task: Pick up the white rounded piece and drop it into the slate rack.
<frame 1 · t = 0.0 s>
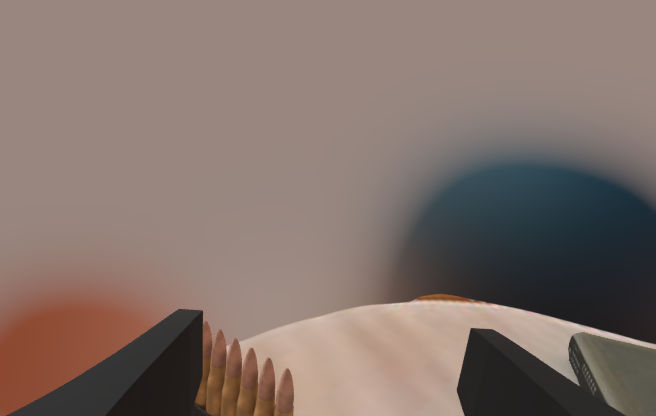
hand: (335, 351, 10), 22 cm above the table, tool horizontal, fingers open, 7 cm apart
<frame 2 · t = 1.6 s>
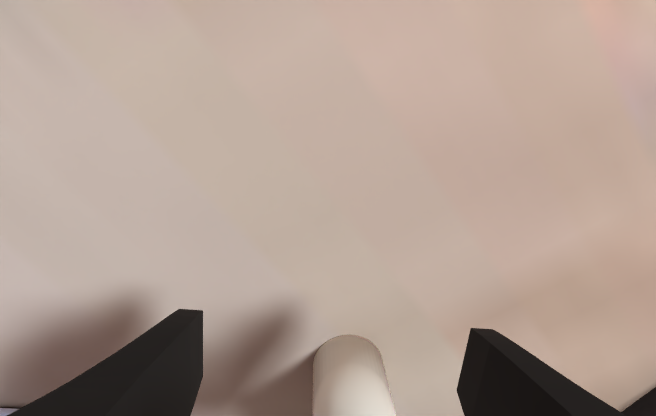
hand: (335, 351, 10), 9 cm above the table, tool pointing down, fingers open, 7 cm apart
white rounded piece: (347, 364, 21), on the table
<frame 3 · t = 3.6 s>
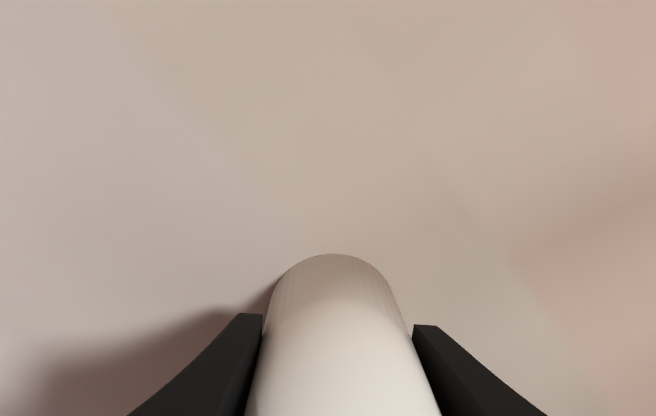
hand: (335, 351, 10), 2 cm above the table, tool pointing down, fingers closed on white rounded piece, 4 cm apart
white rounded piece: (332, 312, 12), on the table, touching gripper
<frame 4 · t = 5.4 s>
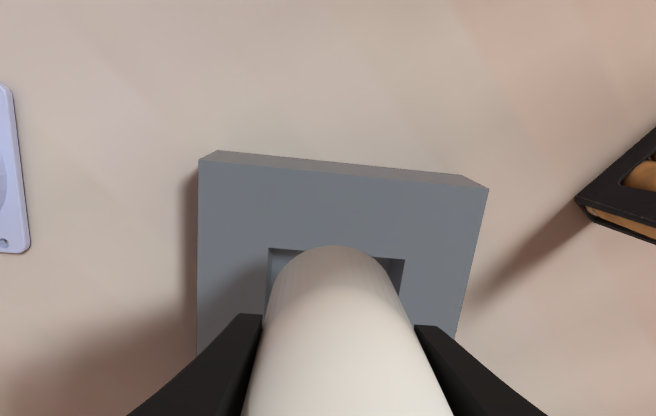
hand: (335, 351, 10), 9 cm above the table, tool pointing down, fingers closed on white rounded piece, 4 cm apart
slate rack: (319, 354, 21), on the table
white rounded piece: (332, 304, 12), point 7 cm above the table, touching gripper
when the fingers open (4 cm above the table, at t = 7.4 s): white rounded piece drops 1 cm, resting on slate rack.
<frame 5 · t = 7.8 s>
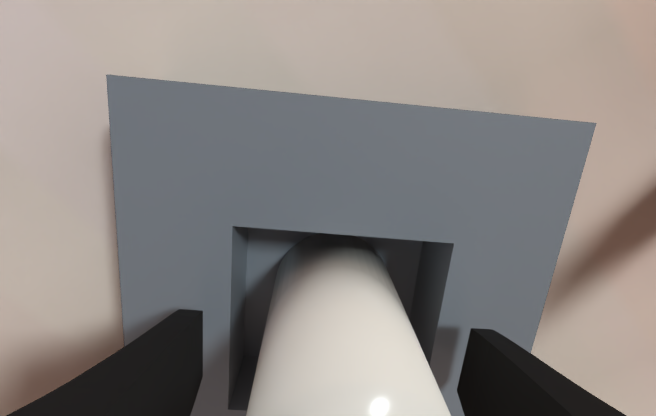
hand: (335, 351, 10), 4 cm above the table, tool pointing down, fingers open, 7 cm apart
slate rack: (319, 383, 15), on the table
white rounded piece: (332, 285, 13), point 1 cm above the table, touching slate rack
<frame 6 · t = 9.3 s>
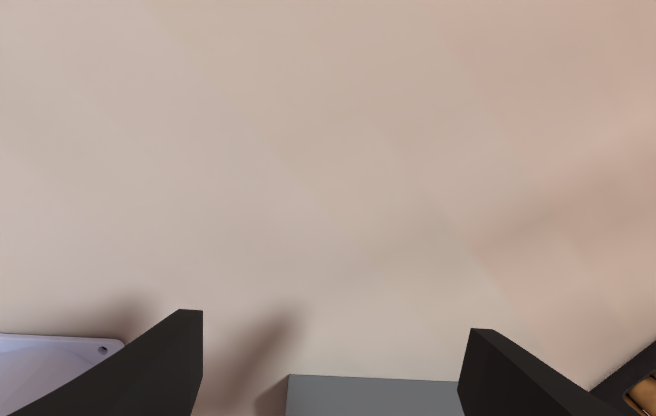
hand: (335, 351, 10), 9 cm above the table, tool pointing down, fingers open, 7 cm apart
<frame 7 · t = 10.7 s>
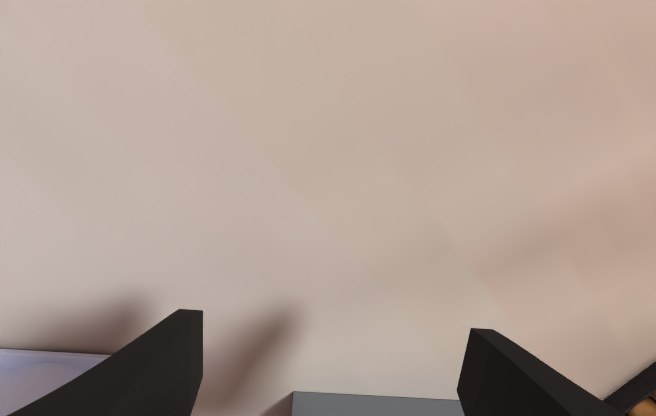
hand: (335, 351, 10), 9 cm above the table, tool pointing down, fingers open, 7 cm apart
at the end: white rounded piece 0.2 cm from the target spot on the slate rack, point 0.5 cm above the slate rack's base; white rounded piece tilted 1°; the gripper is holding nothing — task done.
